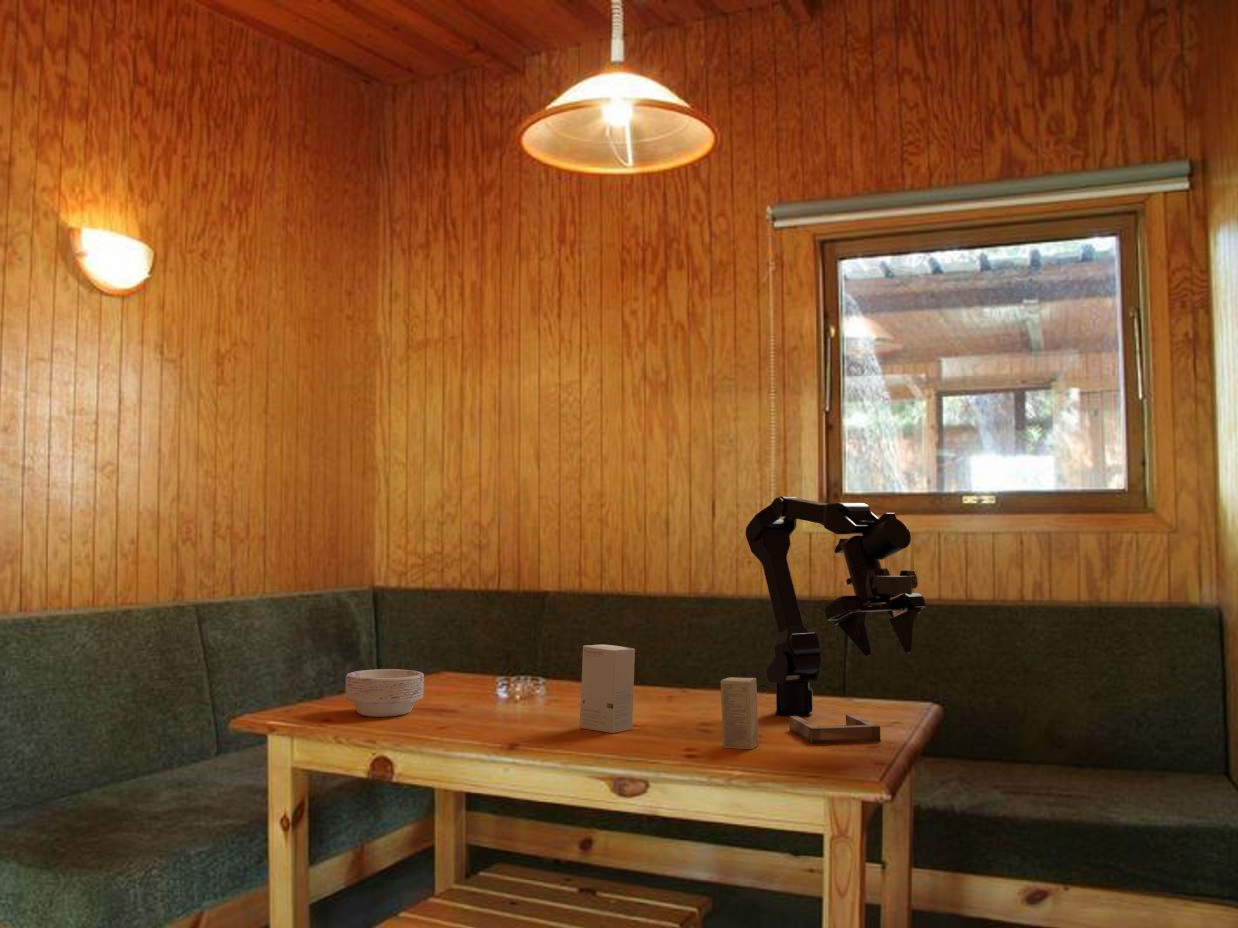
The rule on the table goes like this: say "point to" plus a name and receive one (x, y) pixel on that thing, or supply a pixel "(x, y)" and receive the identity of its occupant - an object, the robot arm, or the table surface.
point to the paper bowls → (384, 691)
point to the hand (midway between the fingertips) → (888, 654)
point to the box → (739, 713)
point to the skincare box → (607, 688)
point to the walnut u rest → (836, 731)
